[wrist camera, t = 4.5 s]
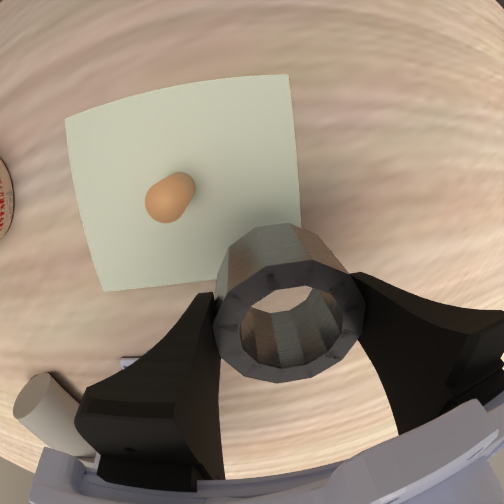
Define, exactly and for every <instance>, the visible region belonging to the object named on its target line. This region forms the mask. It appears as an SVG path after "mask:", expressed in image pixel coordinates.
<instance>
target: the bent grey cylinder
mask: <svg viewBox="0 0 504 504" xmlns="http://www.w3.org/2000/svg"><path fill="white" fill-rule="evenodd" d="M79 405H80V404H79V403H78V402H77V401H76V400H75V399H74V398H72V397H71V396H70V395H69V394H68V393H67V392H66V391H65V390H64V389H63V388H62V387H61V386H60V385H59V384H58V383H57V382H56V381H55V380H54V379H53V378H52V376H51V375H50V374H49V373H47V372H45V373H41V374H38V375H36V376H35V377H34V378H32V379H31V380H30V381H29V382H28V383H27V384H26V385H25V386H24V388H23V389H22V390H21V392H20V393H19V395H18V397H17V399H16V401H15V404H14V407H13V415H14V417H15V418H16V419H17V420H18V421H19V422H20V423H21V424H23V425H24V426H25V427H26V428H27V429H28V430H30V431H31V432H32V433H33V434H34V435H36V436H37V437H38V438H39V439H40V440H42V441H43V442H44V443H46V444H47V445H48V446H50V447H51V448H52V449H55V450H58V451H61V452H65V453H67V454H70V455H72V456H74V457H76V458H77V459H79V460H80V461H81V462H82V463H83V464H84V465H85V466H86V467H90V468H93V465H94V461H95V457H96V454H97V451H95V450H94V449H93V448H92V447H91V446H90V445H89V444H88V443H87V442H86V441H85V440H84V439H83V438H82V436H81V435H80V434H79V433H78V431H77V430H76V428H75V425H74V418H75V415H76V413H77V410H78V407H79Z"/></svg>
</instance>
